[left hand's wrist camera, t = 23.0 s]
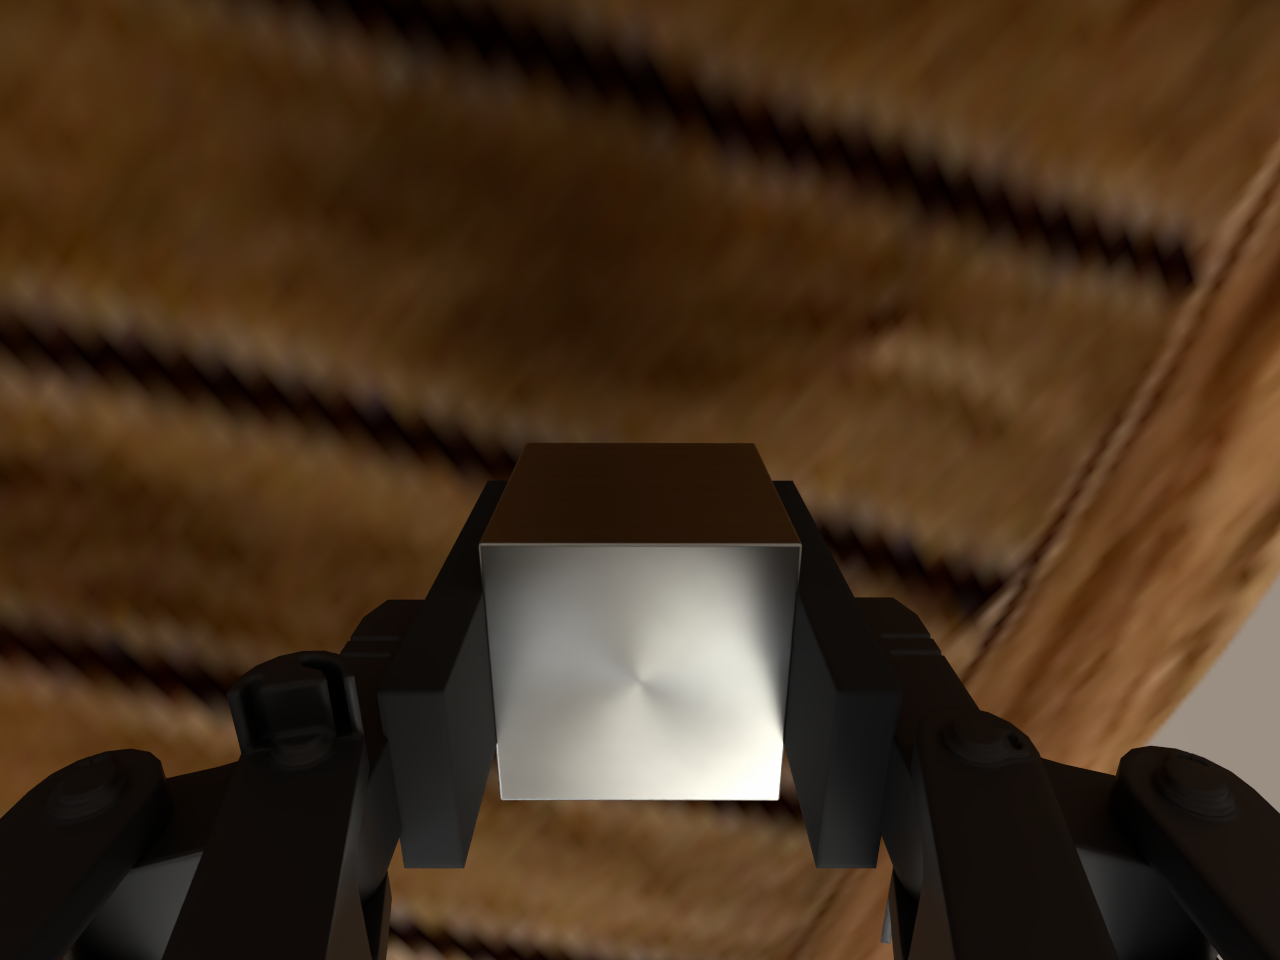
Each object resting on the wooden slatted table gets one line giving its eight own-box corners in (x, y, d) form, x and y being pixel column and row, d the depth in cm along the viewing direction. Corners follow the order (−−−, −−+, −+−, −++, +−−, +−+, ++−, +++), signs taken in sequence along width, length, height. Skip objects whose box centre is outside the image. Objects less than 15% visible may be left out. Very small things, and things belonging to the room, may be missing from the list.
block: (536, 642, 16) (499, 801, 12) (525, 442, 14) (477, 543, 10) (743, 642, 16) (780, 801, 12) (754, 442, 14) (803, 543, 10)
